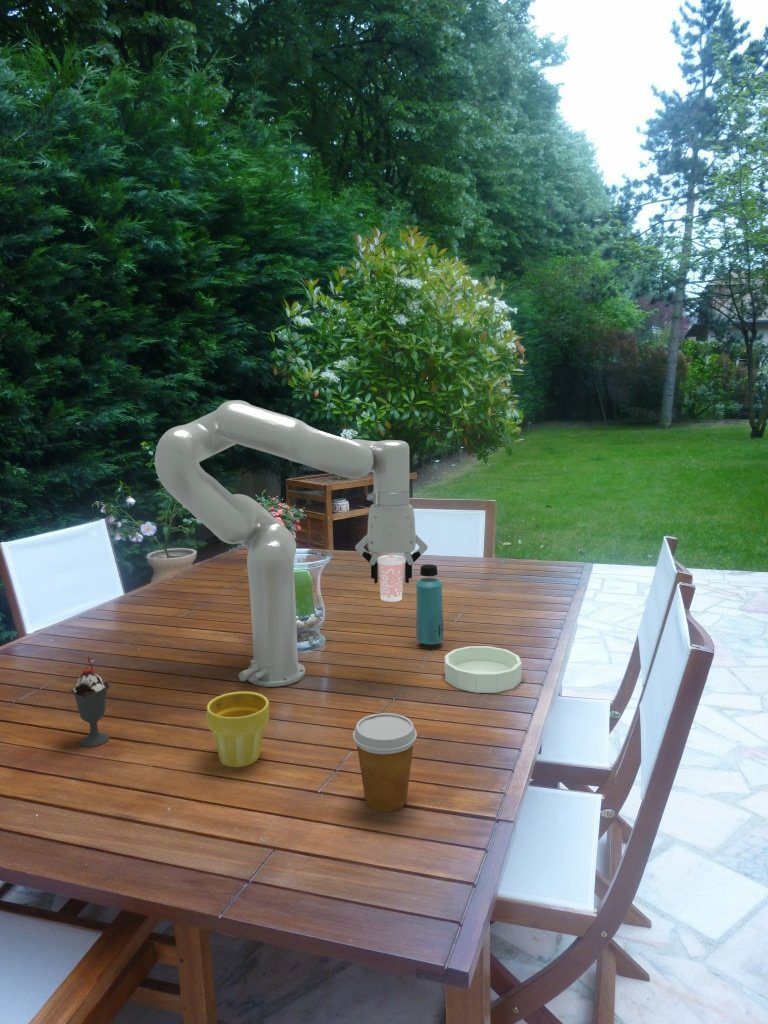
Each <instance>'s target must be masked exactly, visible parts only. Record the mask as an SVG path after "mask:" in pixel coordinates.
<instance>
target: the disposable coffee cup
mask: <svg viewBox="0 0 768 1024" xmlns="http://www.w3.org/2000/svg"><path fill="white" fill-rule="evenodd" d="M352 737H353V740H354V742H355V745H356V750H357V755H358V762H359V767H360V774H361V781H362V786H363V792H364V793H363V794H364V800H365V804H366V805H367V807H369V808H370V809H372V810H375V811H378V812H386V813H387V812H388V813H389V812H393V811H397V810H400V809H402V808H403V807H404V806H405V805H406V803H407V801H408V792H409V782H410V776H411V768H412V758H413V750H414V744H415V741H416V740H417V737H418V732H417V730H416V728H415V725H414V723H413V721H412V720H410V718H408V717H406V716H404V715H401V714H398V713H392V712H389V713H388V712H382V713H373V714H370V715H367V716H364V717H362V718H361V719H359V720H358V721H357V723H356V726H355V728H354V730H353V733H352Z"/></svg>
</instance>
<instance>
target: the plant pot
mask: <svg viewBox="0 0 768 1024" xmlns="http://www.w3.org/2000/svg"><path fill="white" fill-rule="evenodd" d="M269 720H270V703H269V699H268V698H267V697H266V696H264V695H263V694H261V693H258V692H253V691H235V692H227V693H224V694H221V695H218V696H216V697H215V698H213V699H211V700H210V701H209V702H208V703H207V705H206V724H207V727H208V730H210V731H211V732H212V735H213V739H214V743H215V747H216V749H217V750H216V751H217V753H218V754H217V755H218V758H219V761H220V762H221V764H222V765H223V766H227V767H229V768H230V767H231V768H242V767H247V766H249V765H253V764H254V763H256V762H257V761H258V760H259V758H260V756H261V749H262V743H263V740H264V739H263V737H264V733H265V727H266V726H267V725H268V723H269Z"/></svg>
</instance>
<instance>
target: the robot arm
mask: <svg viewBox="0 0 768 1024" xmlns="http://www.w3.org/2000/svg"><path fill="white" fill-rule="evenodd" d="M235 445H239V446H243V447H246V448H249V449H254V450H256V451H260V452H263V453H268V454H271V455H273V456H277V457H280V458H283V459H286V460H288V461H291V462H294V463H298V464H302V465H304V466H308V467H310V468H313V469H316V470H320V471H323V472H326V473H329V474H333V475H336V476H340V477H341V478H342V477H343V478H345V479H351V480H358V479H362V478H364V477H366V476H367V475H369V473H373V491H372V493H371V492H369V493H367V494H366V500H367V501H370V502H371V501H372V502H373V504H371V505H370V507H369V511H368V520H367V533H366V535H365V536H364V537H363V538H362V539H361V540H360V541H359V542H358V543H356V545H355V547H354V548H355V549H354V550H356V551H357V553H359V554H360V555H361V556H362V557H363V558H364V559H365V560H366V561H367V562H368V564H369V565H370V579H372V580H373V582H374V584H377V583H379V582H378V579H379V578H378V576H379V563H378V562H377V561H378V560H377V558H378V557H379V555H380V554H381V555H382V554H385V555H390V554H393V555H395V554H396V555H398V554H403V555H404V557H405V558H406V560H405V561H406V562H405V563H404V582H405V584H410V583H409V582H410V579H413V565H414V563H415V562H416V561H417V560H418V559H420V557H421V556H423V554H424V553H425V552H427V550H428V549H429V547H428V545H427V544H426V543H425V542H424V540H422V539H421V538H420V537H419V536H418V534H416V519H415V511H414V507H413V505H412V504H410V445H409V443H408V442H406V441H404V440H400V439H399V440H397V439H396V440H395V439H394V440H393V439H386V440H384V439H383V440H379V441H374V440H366V439H357V438H353V439H349V438H345V437H341V436H337V435H334V434H331V433H328V432H325V431H322V430H319V429H317V428H314V427H312V426H310V425H308V424H307V423H305V422H304V421H302V420H300V419H298V418H295V417H292V416H290V415H285V414H282V413H279V412H274V411H271V410H268V409H265V408H262V407H258V406H256V405H252V404H250V403H249V402H247V401H244V400H241V399H238V400H237V399H236V400H235V399H234V400H227V401H225V402H223V403H222V404H220V405H219V406H218V407H217V409H216V410H213V411H212V412H209V413H208V414H205V415H203V416H201V417H200V418H198V419H195V420H193V421H190V422H189V423H186V424H181V425H177V426H174V427H172V428H170V429H168V430H167V431H165V432H164V434H162V435H161V437H160V439H159V441H158V443H157V445H156V449H155V453H154V455H155V456H154V467H155V471H156V474H157V477H158V479H159V481H160V483H161V485H162V486H163V487H164V489H165V490H166V491H167V492H168V493H169V494H170V496H172V497H173V498H174V499H175V500H176V501H177V502H178V503H180V505H182V506H183V507H184V508H185V509H187V510H188V512H189V513H190V514H191V515H193V516H194V517H195V519H197V520H198V521H199V522H201V523H202V525H204V526H205V527H206V528H207V529H209V531H211V532H212V534H213V535H214V536H216V537H217V538H218V539H219V540H221V541H223V542H224V543H226V544H230V545H238V544H241V545H242V546H243V547H244V548H245V549H246V550H248V552H247V557H246V566H247V567H246V569H247V570H246V571H247V577H248V586H249V598H250V599H249V600H250V612H251V613H250V614H251V633H252V636H251V637H252V652H253V653H252V654H253V659H252V660H250V665H249V667H248V668H247V669H244V670H242V671H240V672H239V673H238V679H239V680H240V681H241V682H244V681H248V682H250V683H251V684H253V685H255V686H260V687H266V688H267V687H268V688H271V687H272V688H273V687H274V688H275V687H277V688H278V687H283V686H288V685H291V684H294V683H297V682H299V681H300V680H303V678H304V677H305V676H306V668H305V666H304V665H303V664H302V663H299V658H298V655H299V653H298V631H297V630H298V629H297V628H298V627H297V606H296V585H295V584H296V583H295V569H294V566H295V565H294V564H295V557H296V553H297V542H296V539H295V537H294V535H293V534H292V532H291V531H290V530H289V529H288V528H287V527H286V526H285V525H284V524H283V523H282V522H280V521H279V520H278V519H277V518H275V517H274V515H272V514H271V513H270V512H269V511H268V510H267V509H265V508H264V506H262V505H261V504H260V503H259V502H258V501H257V500H256V499H253V498H252V497H250V496H248V495H245V494H240V493H235V494H232V493H231V492H230V491H229V490H228V489H226V488H225V487H224V486H223V485H222V484H221V483H220V482H219V481H218V480H217V479H215V478H214V477H213V476H212V475H210V474H209V473H207V472H206V470H204V468H203V467H201V465H200V463H201V462H202V461H204V460H206V459H208V458H211V457H212V456H214V455H216V454H219V453H221V452H223V451H225V450H227V449H229V448H231V447H233V446H235ZM366 545H367V549H368V551H369V552H368V551H367V550H366V549H365V546H366ZM416 545H417V546H418V548H417V550H415V549H416ZM370 553H371V554H370Z"/></svg>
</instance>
